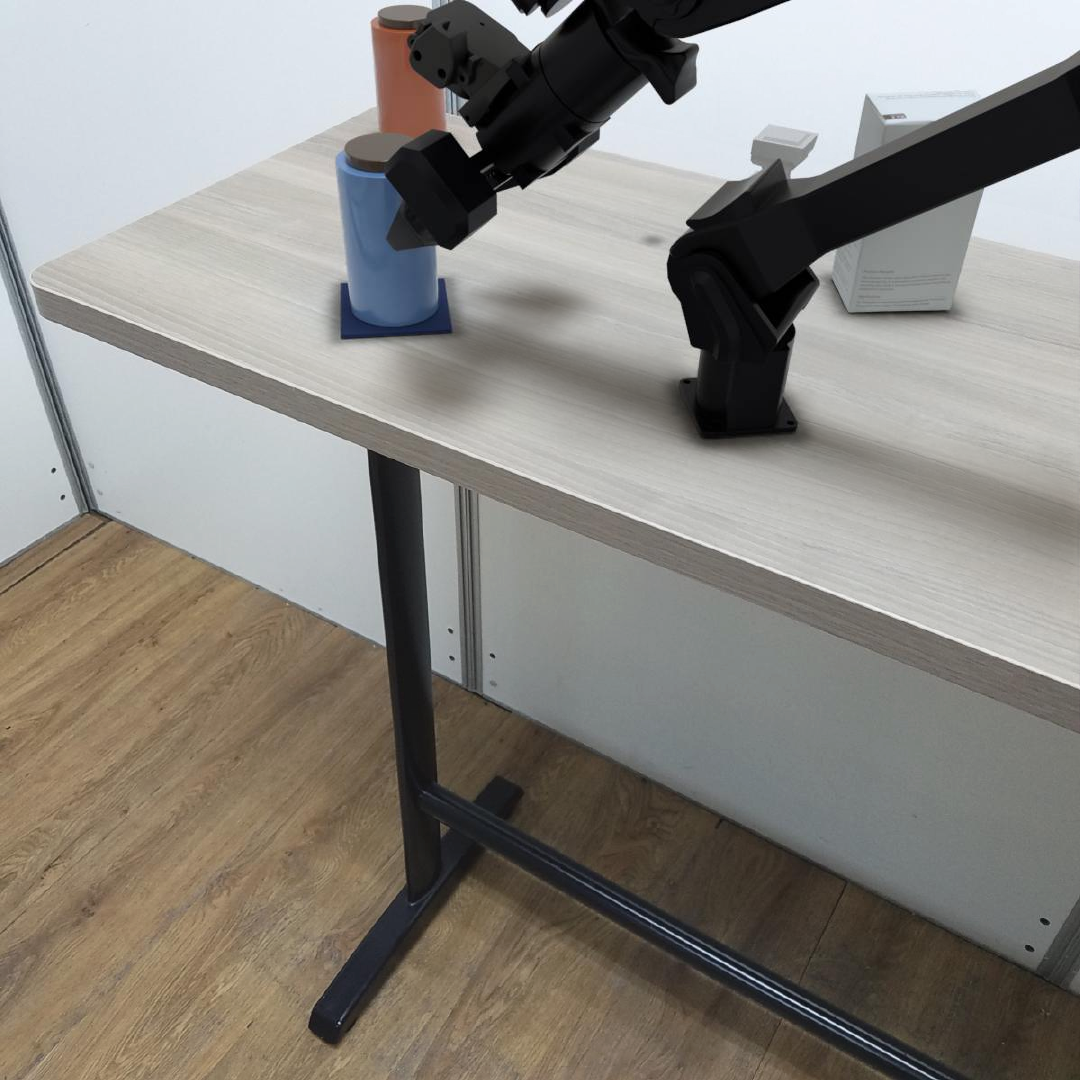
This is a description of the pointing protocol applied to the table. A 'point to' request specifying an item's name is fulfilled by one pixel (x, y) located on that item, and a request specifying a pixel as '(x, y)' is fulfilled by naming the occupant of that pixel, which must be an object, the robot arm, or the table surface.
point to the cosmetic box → (907, 221)
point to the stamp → (782, 147)
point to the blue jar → (380, 239)
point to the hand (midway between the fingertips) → (429, 218)
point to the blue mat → (360, 329)
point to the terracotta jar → (403, 76)
